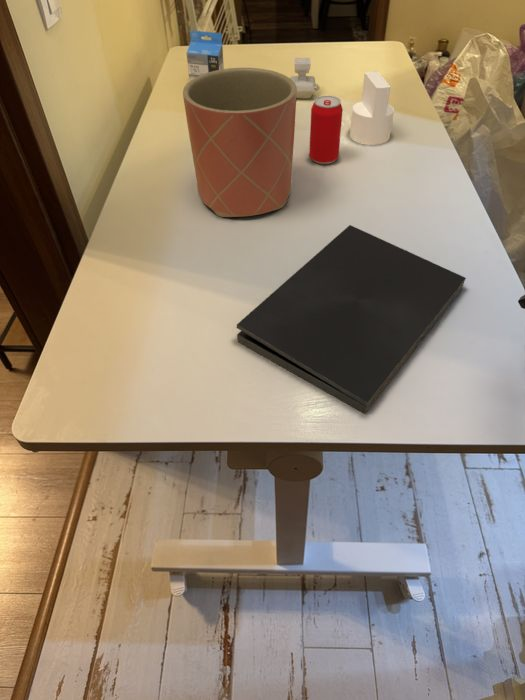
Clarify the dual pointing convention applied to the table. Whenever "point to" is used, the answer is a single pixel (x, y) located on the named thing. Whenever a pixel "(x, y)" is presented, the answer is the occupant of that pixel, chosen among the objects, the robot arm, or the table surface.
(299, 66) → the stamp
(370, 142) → the cylinder with rectangular tab
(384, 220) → the table surface
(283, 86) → the planter
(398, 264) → the laptop screen
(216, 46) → the ink cartridge box
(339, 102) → the beverage can
